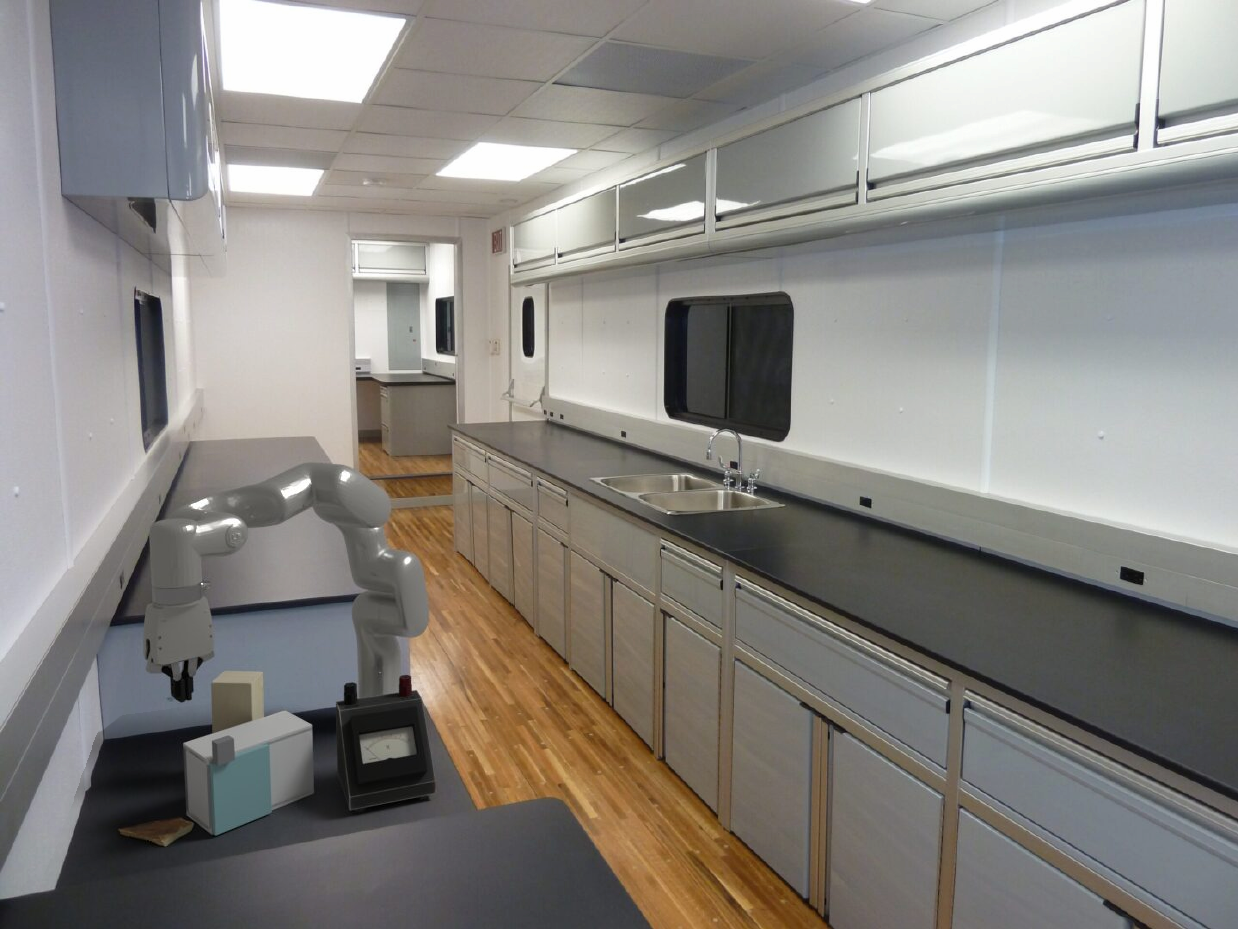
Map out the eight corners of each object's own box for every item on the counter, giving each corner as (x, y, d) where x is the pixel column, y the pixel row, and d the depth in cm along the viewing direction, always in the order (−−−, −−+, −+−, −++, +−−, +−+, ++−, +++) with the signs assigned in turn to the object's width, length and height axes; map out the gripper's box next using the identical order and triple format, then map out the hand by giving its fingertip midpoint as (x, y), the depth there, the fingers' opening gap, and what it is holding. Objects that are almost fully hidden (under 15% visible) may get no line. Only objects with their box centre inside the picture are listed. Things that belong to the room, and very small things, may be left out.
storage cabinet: (287, 776, 179) (285, 710, 177) (314, 793, 173) (312, 725, 171) (186, 815, 164) (183, 743, 162) (212, 835, 158) (208, 760, 156)
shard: (118, 836, 157) (117, 827, 157) (154, 816, 164) (154, 807, 164) (163, 850, 153) (162, 840, 153) (199, 829, 160) (198, 819, 160)
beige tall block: (267, 767, 183) (264, 669, 180) (254, 784, 176) (250, 683, 173) (228, 767, 183) (224, 669, 180) (213, 784, 175) (209, 682, 173)
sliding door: (268, 810, 165) (265, 723, 163) (274, 814, 164) (271, 726, 162) (212, 833, 157) (208, 741, 155) (218, 837, 156) (214, 745, 154)
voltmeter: (350, 818, 164) (347, 715, 162) (337, 778, 179) (335, 683, 176) (436, 801, 171) (435, 702, 168) (417, 764, 186) (416, 672, 183)
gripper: (212, 580, 155) (216, 681, 158) (120, 598, 144) (126, 706, 146) (232, 589, 151) (236, 692, 153) (139, 607, 139) (145, 719, 142)
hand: (182, 699), depth 150 cm, fingers closed
